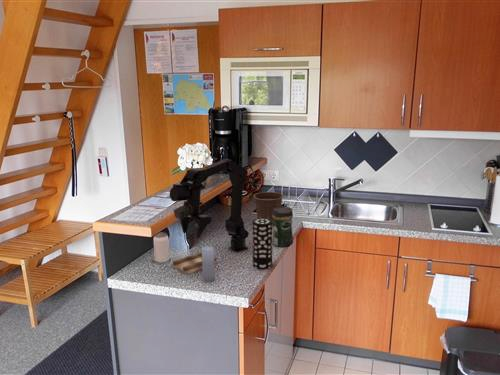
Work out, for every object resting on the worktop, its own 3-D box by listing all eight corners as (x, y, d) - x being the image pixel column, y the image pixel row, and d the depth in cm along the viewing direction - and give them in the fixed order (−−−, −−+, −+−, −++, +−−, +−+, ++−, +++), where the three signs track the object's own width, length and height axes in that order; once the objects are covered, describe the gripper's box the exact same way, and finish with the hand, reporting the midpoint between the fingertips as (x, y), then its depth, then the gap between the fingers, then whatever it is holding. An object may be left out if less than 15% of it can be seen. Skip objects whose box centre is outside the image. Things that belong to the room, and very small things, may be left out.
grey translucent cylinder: (210, 274, 173) (209, 245, 170) (217, 278, 170) (216, 248, 167) (200, 278, 170) (199, 248, 167) (207, 282, 167) (206, 251, 164)
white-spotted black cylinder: (248, 265, 182) (248, 221, 177) (262, 260, 187) (262, 217, 183) (262, 271, 176) (262, 225, 171) (276, 265, 182) (276, 221, 177)
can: (163, 256, 193) (161, 231, 190) (172, 259, 189) (171, 234, 186) (151, 260, 188) (150, 235, 185) (161, 264, 184) (159, 238, 181)
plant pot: (272, 230, 226) (272, 201, 222) (248, 224, 235) (247, 196, 231) (288, 222, 238) (288, 194, 234) (264, 217, 248) (264, 190, 244)
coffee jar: (287, 240, 211) (287, 204, 206) (295, 245, 204) (295, 208, 199) (270, 243, 207) (270, 206, 203) (277, 248, 200) (277, 211, 196)
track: (202, 256, 192) (202, 251, 191) (217, 263, 184) (216, 258, 183) (172, 266, 182) (171, 260, 181) (185, 274, 174) (185, 268, 173)
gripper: (164, 196, 177) (162, 233, 179) (192, 205, 164) (189, 244, 166) (185, 195, 185) (183, 229, 187) (213, 203, 172) (211, 240, 174)
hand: (191, 235), depth 178 cm, fingers open, 9 cm apart
